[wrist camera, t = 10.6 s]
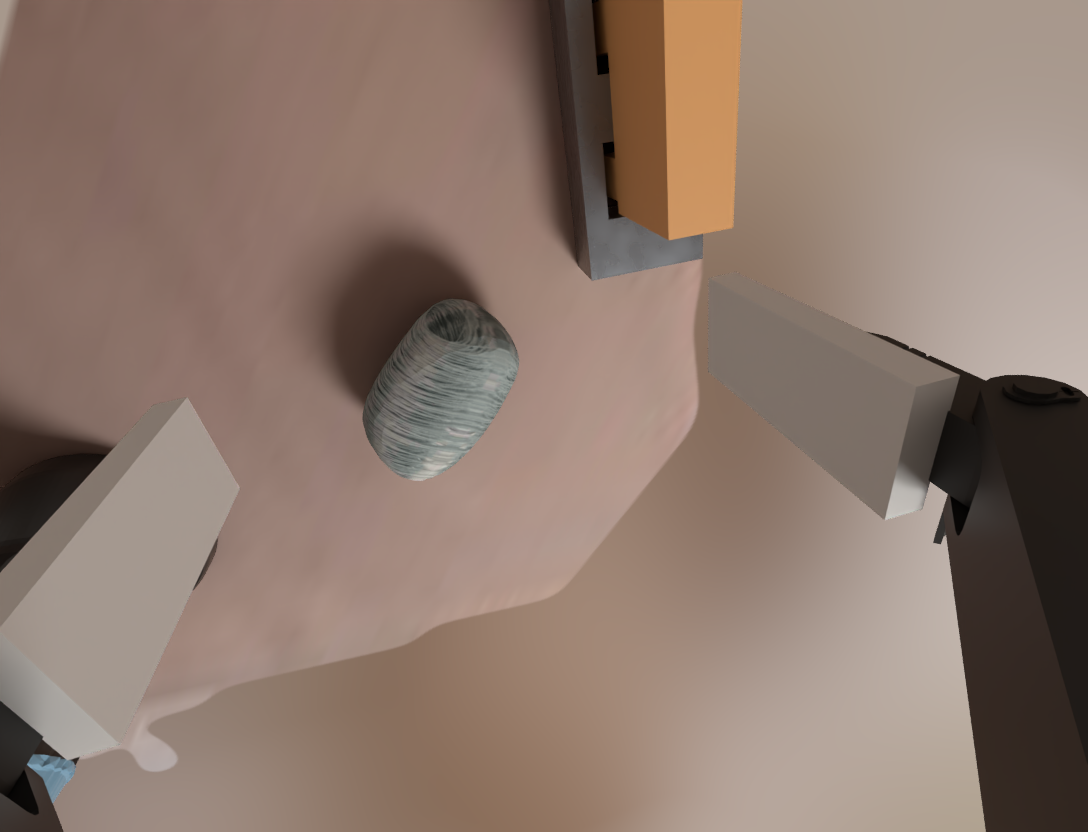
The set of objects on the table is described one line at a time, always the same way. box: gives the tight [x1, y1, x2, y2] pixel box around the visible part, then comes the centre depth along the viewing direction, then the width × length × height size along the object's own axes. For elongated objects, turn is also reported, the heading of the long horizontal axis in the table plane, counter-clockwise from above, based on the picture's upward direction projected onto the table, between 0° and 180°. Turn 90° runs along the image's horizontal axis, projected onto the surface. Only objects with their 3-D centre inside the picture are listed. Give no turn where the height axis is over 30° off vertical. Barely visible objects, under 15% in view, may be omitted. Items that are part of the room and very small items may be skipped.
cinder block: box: [549, 0, 703, 280], centre depth 33 cm, size 8×20×4 cm, turn 8°
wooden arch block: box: [592, 0, 742, 240], centre depth 29 cm, size 4×12×12 cm, turn 8°
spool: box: [363, 299, 519, 481], centre depth 38 cm, size 14×10×10 cm
